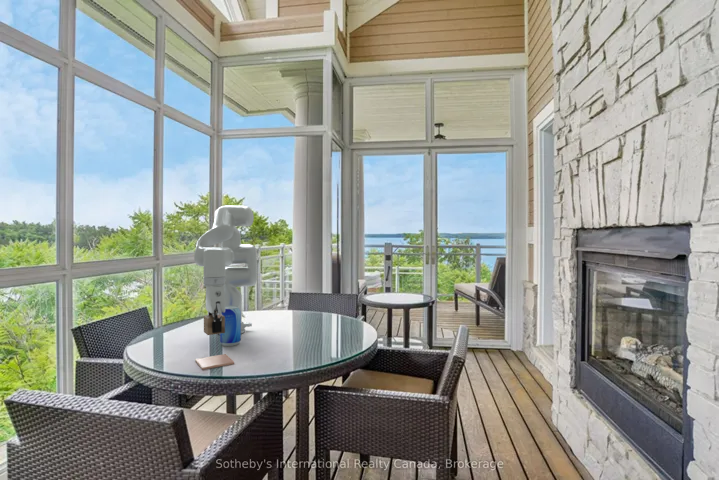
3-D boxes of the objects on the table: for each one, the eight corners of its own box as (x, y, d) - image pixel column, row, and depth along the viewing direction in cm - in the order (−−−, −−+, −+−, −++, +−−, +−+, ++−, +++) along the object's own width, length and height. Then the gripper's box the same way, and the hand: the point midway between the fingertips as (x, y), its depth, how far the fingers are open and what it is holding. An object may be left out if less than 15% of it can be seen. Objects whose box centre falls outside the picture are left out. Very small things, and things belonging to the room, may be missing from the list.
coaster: (225, 355, 148) (225, 353, 148) (234, 363, 139) (234, 361, 139) (195, 361, 142) (195, 359, 142) (202, 369, 133) (202, 367, 133)
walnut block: (220, 329, 144) (220, 313, 144) (224, 332, 140) (224, 316, 139) (203, 331, 141) (203, 315, 141) (207, 335, 136) (207, 318, 136)
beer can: (244, 342, 167) (244, 305, 167) (232, 347, 159) (232, 309, 159) (228, 340, 170) (228, 304, 170) (215, 345, 162) (215, 308, 162)
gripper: (231, 283, 135) (231, 333, 135) (218, 278, 149) (218, 324, 149) (209, 284, 131) (209, 337, 131) (198, 280, 145) (198, 327, 145)
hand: (214, 329), depth 140 cm, fingers closed on walnut block, 6 cm apart
